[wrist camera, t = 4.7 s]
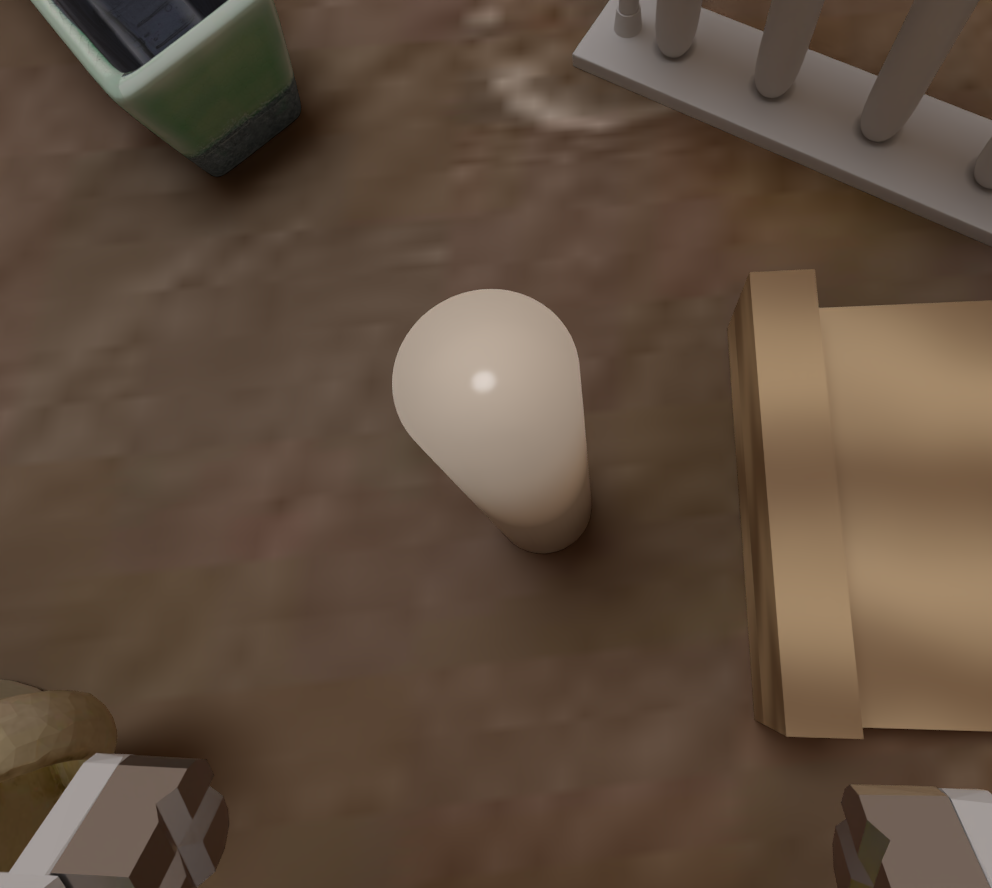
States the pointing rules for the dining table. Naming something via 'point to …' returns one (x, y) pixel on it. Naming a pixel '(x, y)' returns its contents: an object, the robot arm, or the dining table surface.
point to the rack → (864, 509)
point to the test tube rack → (812, 97)
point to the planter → (188, 69)
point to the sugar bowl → (43, 755)
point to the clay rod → (501, 412)
